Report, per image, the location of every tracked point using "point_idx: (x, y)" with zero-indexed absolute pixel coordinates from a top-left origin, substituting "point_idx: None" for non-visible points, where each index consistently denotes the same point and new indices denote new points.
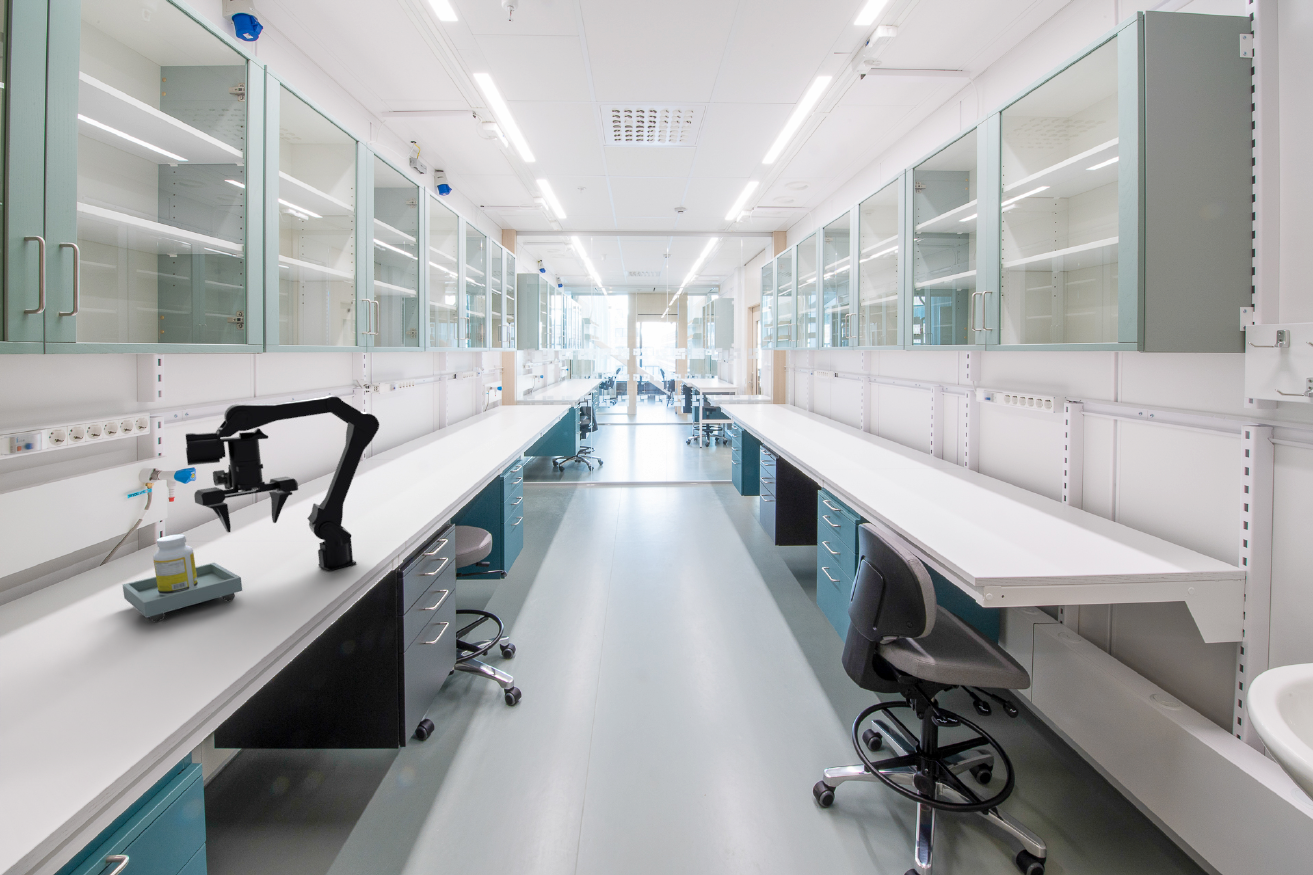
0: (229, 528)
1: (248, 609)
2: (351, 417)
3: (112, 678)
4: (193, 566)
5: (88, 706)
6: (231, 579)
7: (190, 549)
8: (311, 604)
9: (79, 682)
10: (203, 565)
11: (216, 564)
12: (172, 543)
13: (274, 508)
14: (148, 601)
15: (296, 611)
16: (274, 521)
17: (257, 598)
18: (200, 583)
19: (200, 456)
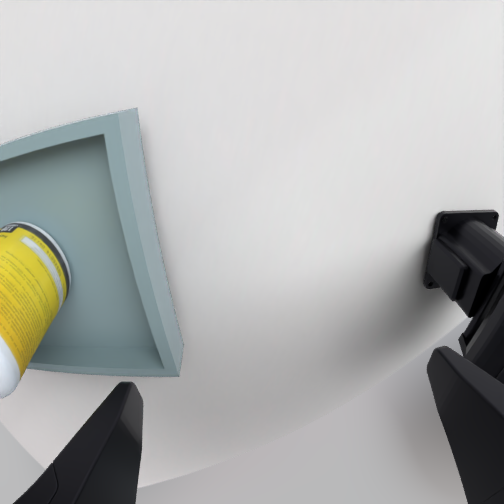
0: (136, 430)
1: (186, 381)
2: None
3: (45, 427)
4: (40, 340)
5: (49, 448)
6: (154, 374)
7: (10, 388)
8: (282, 421)
9: (18, 412)
10: (76, 130)
11: (121, 157)
12: None
13: (474, 452)
14: None
15: (251, 428)
16: (429, 378)
17: (215, 341)
18: (78, 238)
19: None
